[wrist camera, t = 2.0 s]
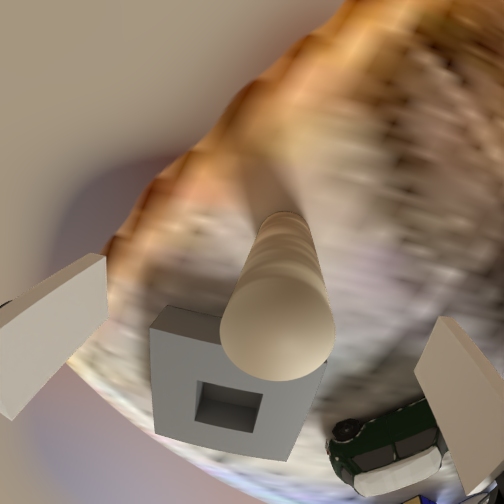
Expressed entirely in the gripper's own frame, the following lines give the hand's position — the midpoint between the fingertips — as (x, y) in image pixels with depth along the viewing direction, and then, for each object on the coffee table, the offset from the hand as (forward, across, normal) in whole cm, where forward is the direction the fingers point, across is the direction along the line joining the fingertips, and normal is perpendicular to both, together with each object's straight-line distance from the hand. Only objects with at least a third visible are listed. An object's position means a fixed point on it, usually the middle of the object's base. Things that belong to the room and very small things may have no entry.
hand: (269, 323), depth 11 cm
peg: (+13, 0, 0) cm, 13 cm away
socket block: (+13, +2, +15) cm, 20 cm away
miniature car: (+14, -18, +19) cm, 30 cm away
